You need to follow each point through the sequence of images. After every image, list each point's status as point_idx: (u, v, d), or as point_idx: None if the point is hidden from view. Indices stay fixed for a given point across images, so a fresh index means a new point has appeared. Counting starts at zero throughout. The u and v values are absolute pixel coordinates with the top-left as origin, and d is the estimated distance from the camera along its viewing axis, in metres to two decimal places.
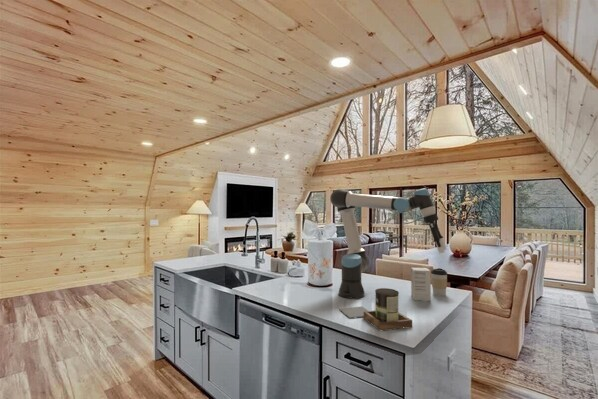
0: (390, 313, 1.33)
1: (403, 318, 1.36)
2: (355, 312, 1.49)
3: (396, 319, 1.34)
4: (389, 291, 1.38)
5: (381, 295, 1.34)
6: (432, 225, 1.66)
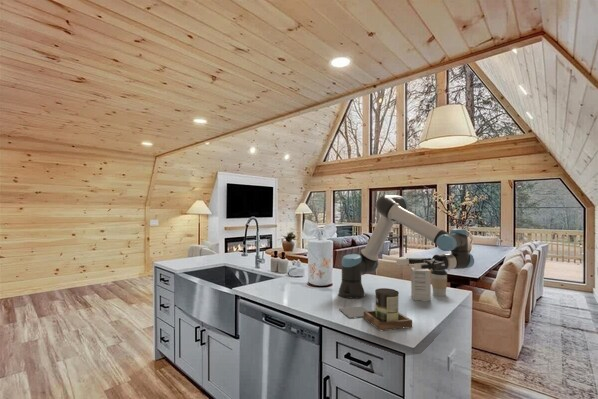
0: (390, 313, 1.33)
1: (403, 318, 1.36)
2: (355, 312, 1.49)
3: (396, 319, 1.34)
4: (389, 291, 1.38)
5: (381, 295, 1.34)
6: (443, 265, 1.39)
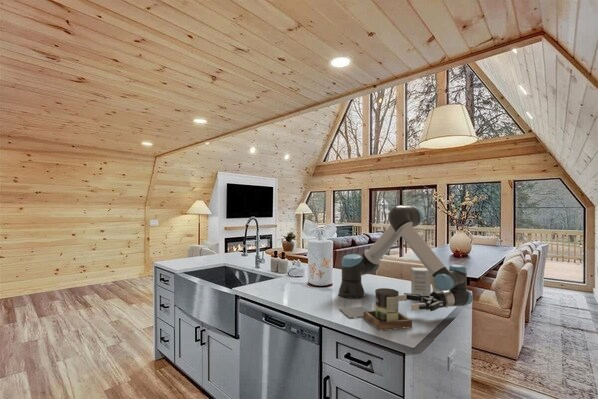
0: (390, 313, 1.33)
1: (403, 318, 1.36)
2: (355, 312, 1.49)
3: (396, 319, 1.34)
4: (389, 291, 1.38)
5: (381, 295, 1.34)
6: (441, 305, 1.37)
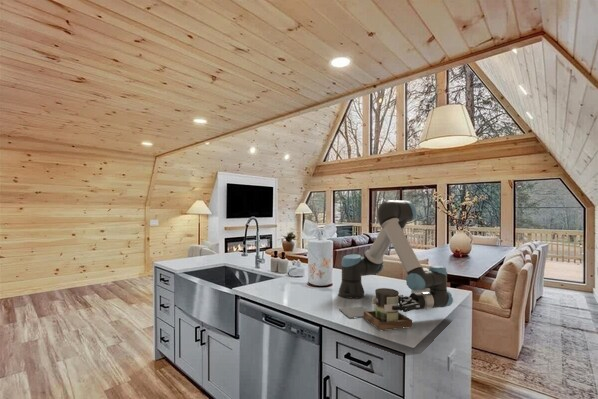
0: (390, 313, 1.33)
1: (403, 318, 1.36)
2: (355, 312, 1.49)
3: (396, 319, 1.34)
4: (389, 291, 1.38)
5: (381, 295, 1.34)
6: (417, 306, 1.34)
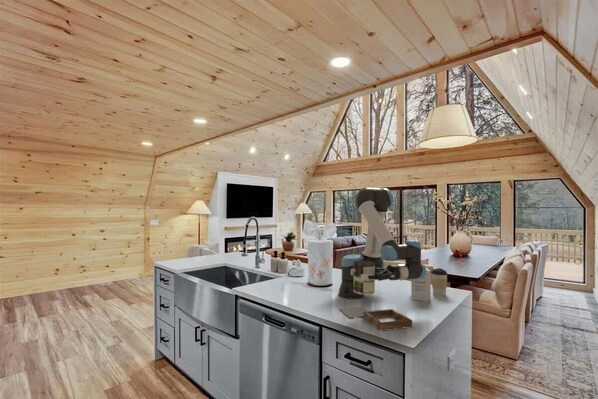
0: (366, 282, 1.42)
1: (403, 318, 1.36)
2: (355, 312, 1.49)
3: (372, 288, 1.43)
4: (366, 262, 1.47)
5: (358, 265, 1.43)
6: (392, 276, 1.43)
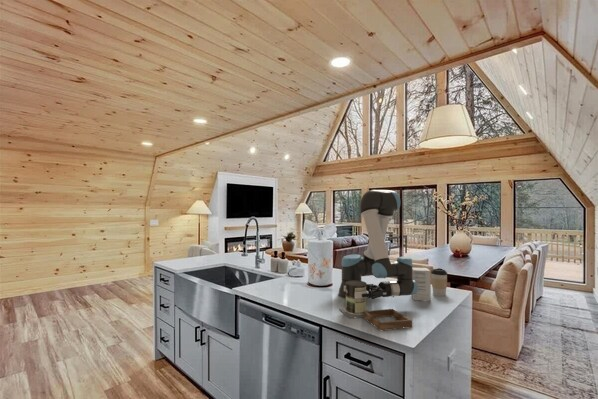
0: (358, 302, 1.45)
1: (403, 318, 1.36)
2: None
3: (364, 308, 1.46)
4: (358, 283, 1.51)
5: (350, 286, 1.47)
6: (384, 294, 1.47)
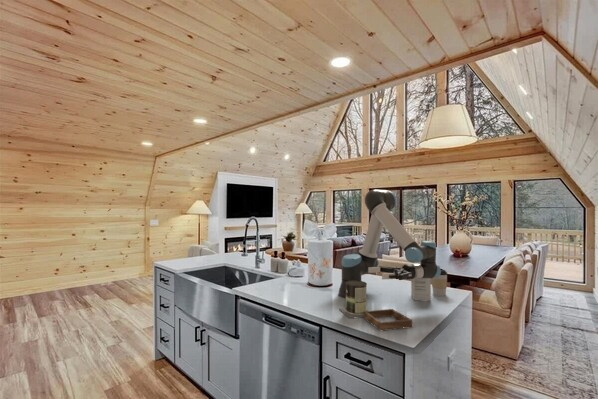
0: (358, 302, 1.45)
1: (403, 318, 1.36)
2: None
3: (364, 308, 1.46)
4: (358, 283, 1.51)
5: (350, 286, 1.47)
6: (410, 275, 1.50)
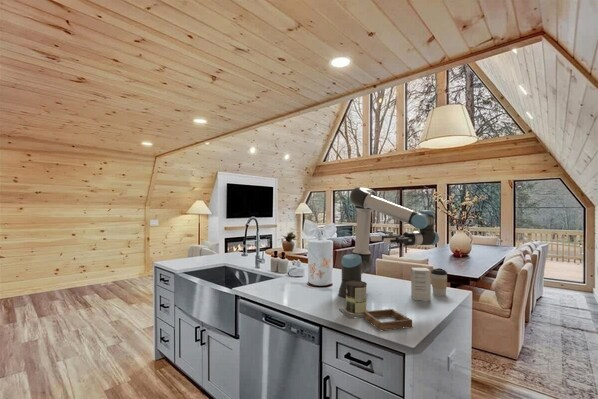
0: (358, 302, 1.45)
1: (403, 318, 1.36)
2: None
3: (364, 308, 1.46)
4: (358, 283, 1.51)
5: (350, 286, 1.47)
6: (410, 240, 1.59)
